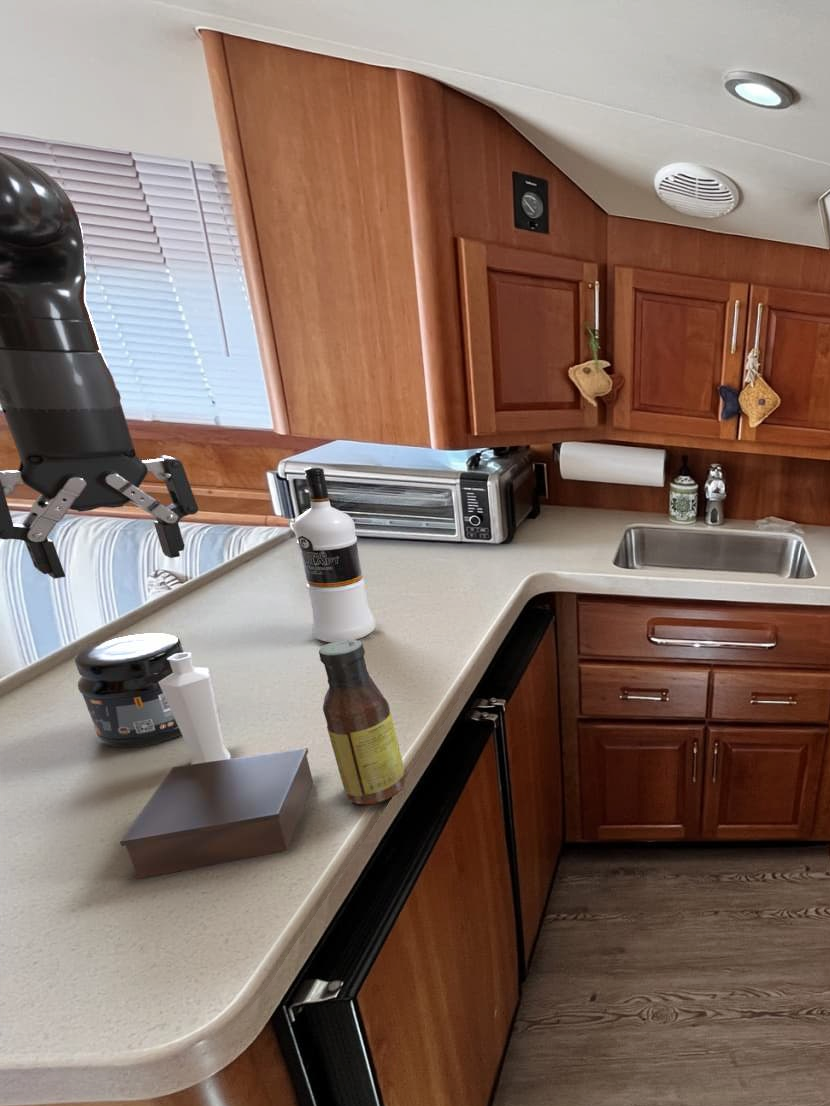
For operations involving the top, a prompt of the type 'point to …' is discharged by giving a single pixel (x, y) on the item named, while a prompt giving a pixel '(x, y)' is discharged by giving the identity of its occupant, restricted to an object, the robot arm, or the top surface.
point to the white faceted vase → (194, 709)
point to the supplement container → (129, 688)
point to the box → (220, 812)
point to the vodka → (332, 567)
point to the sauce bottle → (360, 726)
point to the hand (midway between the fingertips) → (117, 565)
